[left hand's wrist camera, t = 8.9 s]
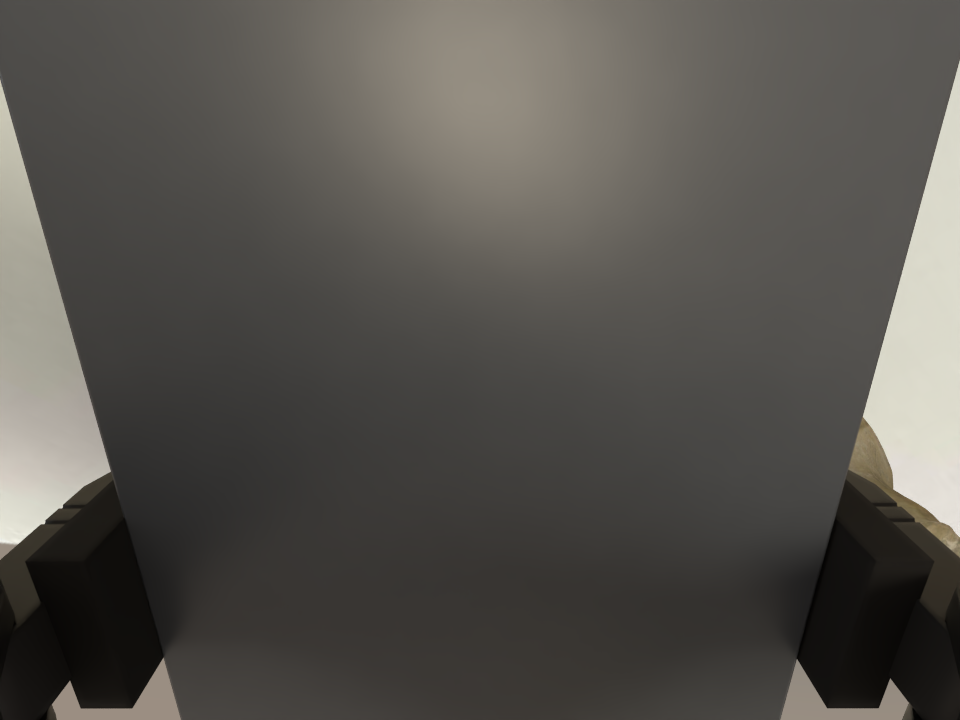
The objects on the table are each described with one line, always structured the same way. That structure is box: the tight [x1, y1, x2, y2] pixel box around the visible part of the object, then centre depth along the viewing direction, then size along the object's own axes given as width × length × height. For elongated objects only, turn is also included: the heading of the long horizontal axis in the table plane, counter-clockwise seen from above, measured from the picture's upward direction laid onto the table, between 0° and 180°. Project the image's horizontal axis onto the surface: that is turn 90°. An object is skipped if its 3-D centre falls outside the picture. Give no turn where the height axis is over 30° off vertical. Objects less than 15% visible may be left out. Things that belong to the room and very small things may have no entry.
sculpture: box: [848, 417, 960, 557], centre depth 28 cm, size 6×7×15 cm
